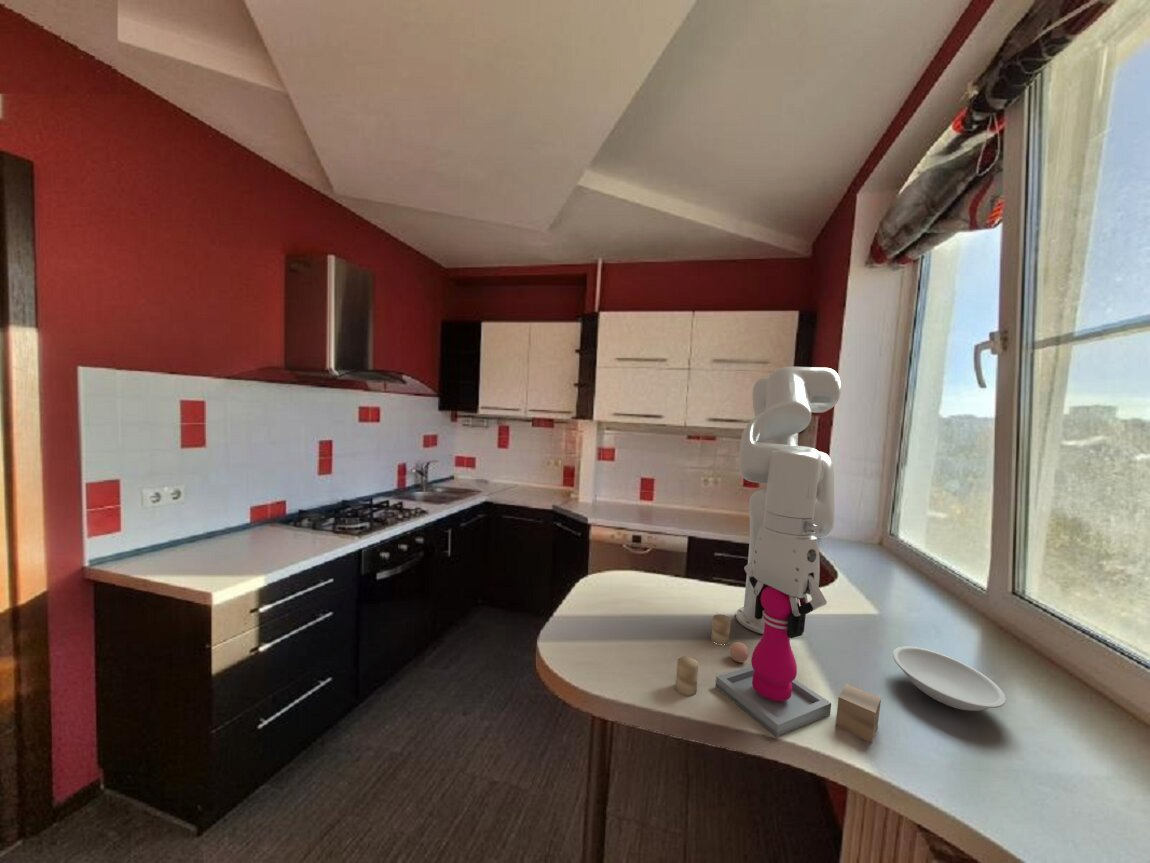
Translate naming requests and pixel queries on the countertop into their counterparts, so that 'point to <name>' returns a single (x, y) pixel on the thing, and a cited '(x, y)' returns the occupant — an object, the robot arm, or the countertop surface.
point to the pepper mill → (774, 649)
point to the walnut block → (858, 712)
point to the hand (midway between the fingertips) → (777, 625)
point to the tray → (773, 702)
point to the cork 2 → (720, 629)
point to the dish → (948, 679)
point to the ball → (739, 652)
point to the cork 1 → (686, 676)
